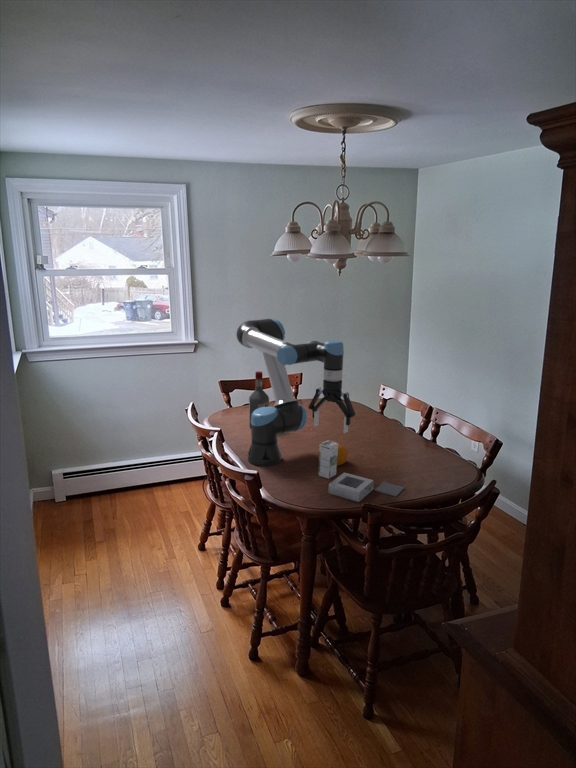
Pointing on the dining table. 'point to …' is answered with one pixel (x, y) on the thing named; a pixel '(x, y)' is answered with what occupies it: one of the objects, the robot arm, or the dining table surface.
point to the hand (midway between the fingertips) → (330, 429)
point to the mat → (389, 489)
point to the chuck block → (355, 494)
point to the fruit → (341, 455)
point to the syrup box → (328, 459)
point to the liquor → (257, 396)
